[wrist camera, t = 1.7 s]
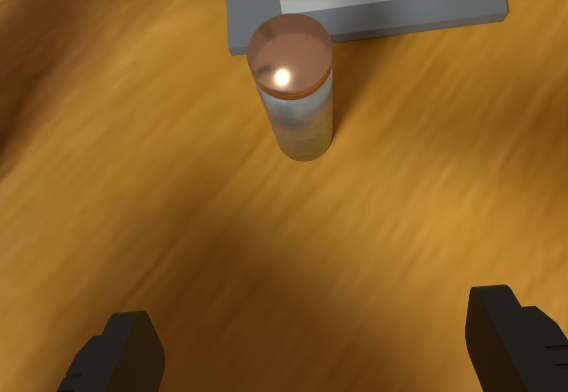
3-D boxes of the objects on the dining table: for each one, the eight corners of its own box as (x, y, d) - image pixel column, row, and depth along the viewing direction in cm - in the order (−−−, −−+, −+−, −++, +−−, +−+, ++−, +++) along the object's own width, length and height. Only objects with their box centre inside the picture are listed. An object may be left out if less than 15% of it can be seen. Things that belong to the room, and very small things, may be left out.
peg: (278, 164, 30) (249, 95, 19) (275, 112, 31) (244, 19, 20) (334, 158, 30) (336, 85, 19) (329, 105, 31) (328, 7, 20)
